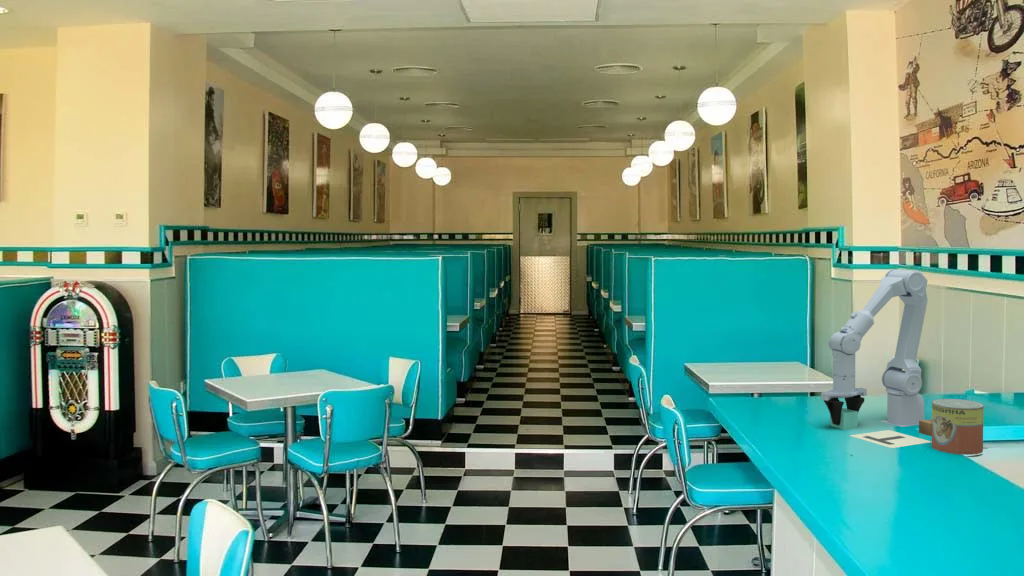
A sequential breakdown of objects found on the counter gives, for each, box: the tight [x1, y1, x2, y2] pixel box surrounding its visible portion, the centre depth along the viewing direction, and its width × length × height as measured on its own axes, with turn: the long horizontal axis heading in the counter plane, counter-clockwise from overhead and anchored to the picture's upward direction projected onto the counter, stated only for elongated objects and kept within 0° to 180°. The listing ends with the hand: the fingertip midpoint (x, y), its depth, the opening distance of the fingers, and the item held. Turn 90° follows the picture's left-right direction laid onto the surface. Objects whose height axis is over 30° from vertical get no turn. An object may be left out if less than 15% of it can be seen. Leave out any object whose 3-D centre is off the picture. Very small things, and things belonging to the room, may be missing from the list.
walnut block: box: [918, 418, 932, 437], centre depth 209 cm, size 4×4×4 cm
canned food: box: [931, 398, 985, 458], centre depth 194 cm, size 11×11×12 cm
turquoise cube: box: [829, 407, 859, 430], centre depth 218 cm, size 5×5×5 cm
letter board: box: [848, 429, 932, 449], centre depth 205 cm, size 14×14×1 cm
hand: (844, 423), depth 218 cm, fingers closed on turquoise cube, 5 cm apart
